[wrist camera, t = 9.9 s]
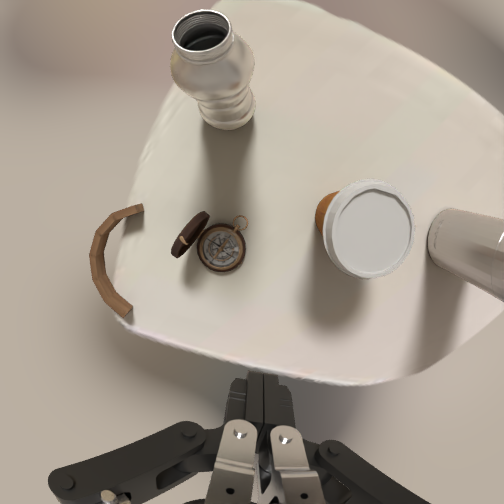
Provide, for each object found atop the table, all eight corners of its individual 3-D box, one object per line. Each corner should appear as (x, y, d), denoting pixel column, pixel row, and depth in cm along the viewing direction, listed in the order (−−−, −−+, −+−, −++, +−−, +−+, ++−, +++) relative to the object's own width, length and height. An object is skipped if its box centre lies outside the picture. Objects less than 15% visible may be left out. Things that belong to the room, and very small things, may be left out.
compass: (228, 279, 37) (222, 301, 30) (179, 243, 36) (162, 258, 29) (265, 231, 36) (268, 243, 29) (214, 193, 35) (205, 196, 28)
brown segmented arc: (145, 204, 35) (138, 205, 32) (132, 311, 38) (125, 319, 36) (104, 195, 34) (95, 197, 32) (95, 299, 38) (87, 306, 36)
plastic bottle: (240, 142, 33) (224, 90, 14) (192, 120, 32) (129, 57, 13) (264, 99, 32) (277, 13, 12) (217, 78, 31) (183, -14, 12)
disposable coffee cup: (384, 215, 35) (434, 229, 23) (338, 267, 37) (372, 302, 25) (336, 164, 34) (374, 156, 22) (287, 219, 35) (303, 236, 24)
